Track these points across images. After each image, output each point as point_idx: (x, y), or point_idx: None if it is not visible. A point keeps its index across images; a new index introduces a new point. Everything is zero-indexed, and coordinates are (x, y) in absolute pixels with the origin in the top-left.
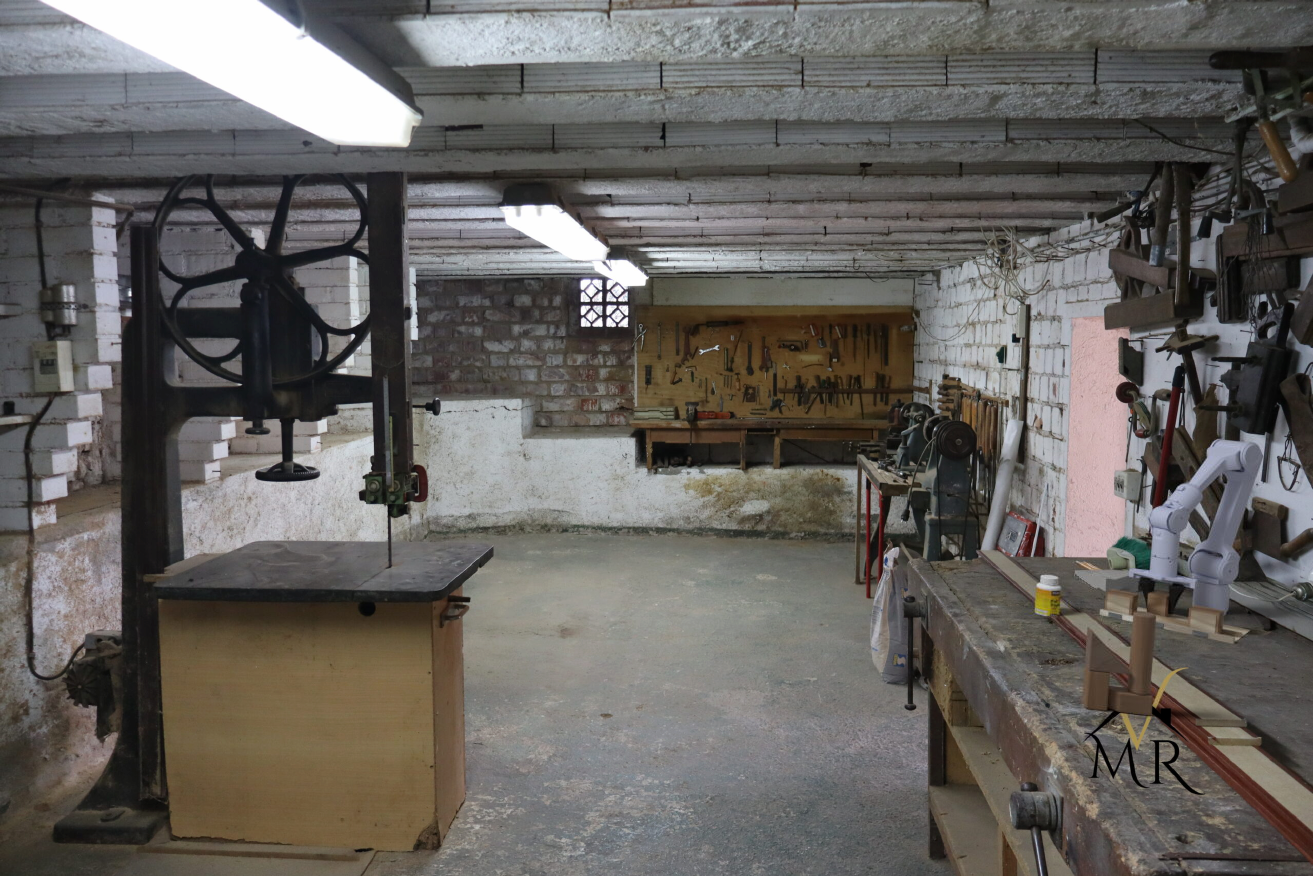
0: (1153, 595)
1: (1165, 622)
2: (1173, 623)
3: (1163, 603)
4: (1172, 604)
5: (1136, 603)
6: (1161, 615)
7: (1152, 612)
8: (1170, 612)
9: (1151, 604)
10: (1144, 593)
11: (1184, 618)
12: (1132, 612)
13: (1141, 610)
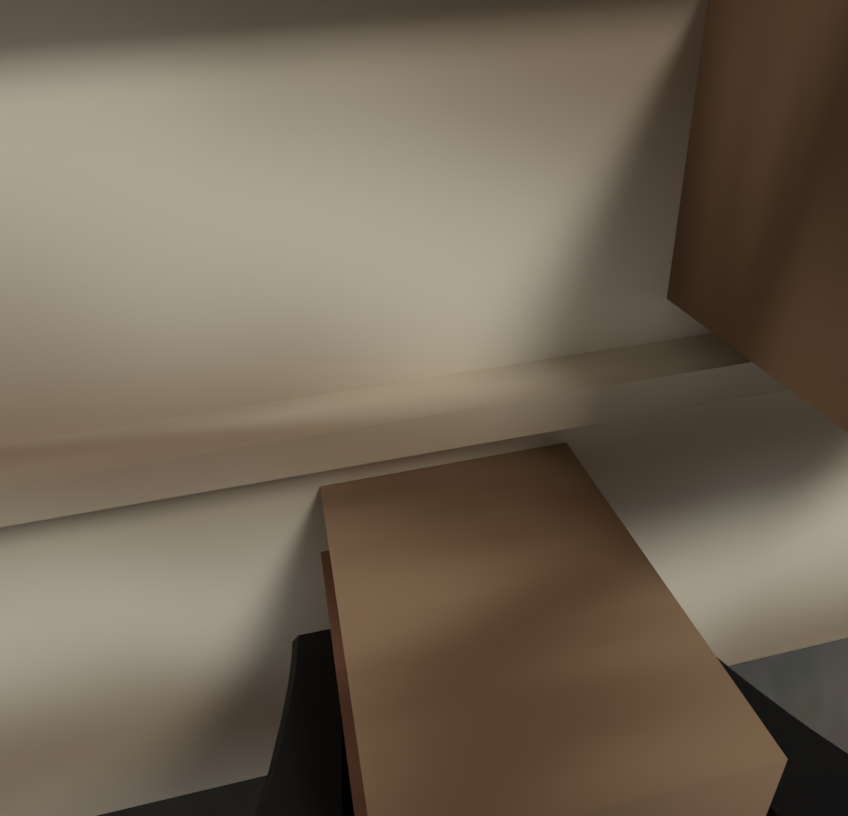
0: (661, 773)
1: (228, 359)
2: (120, 415)
3: (397, 695)
4: (275, 789)
5: (845, 340)
6: (374, 513)
7: (512, 500)
8: (300, 656)
9: (589, 592)
10: (831, 763)
11: (200, 727)
12: (783, 59)
13: None
